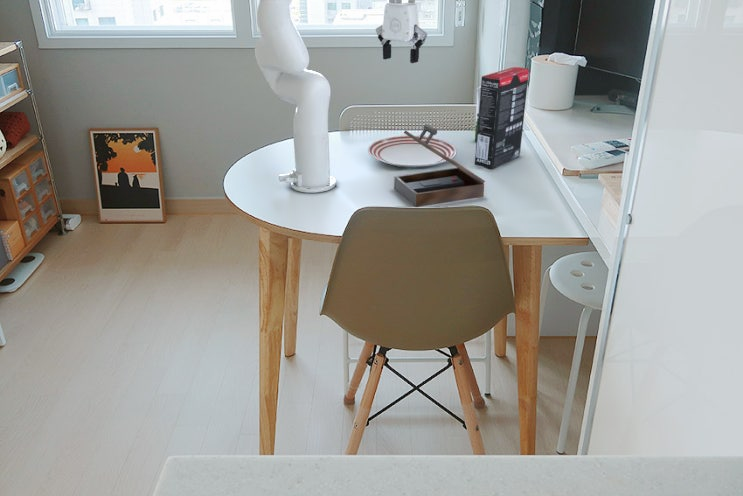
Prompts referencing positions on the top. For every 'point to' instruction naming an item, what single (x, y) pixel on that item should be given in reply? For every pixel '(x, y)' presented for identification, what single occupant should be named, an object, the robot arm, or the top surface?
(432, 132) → the lid
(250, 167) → the top surface
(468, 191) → the box
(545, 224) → the top surface
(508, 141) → the graphics card box
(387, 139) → the dinner plate
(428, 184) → the block
